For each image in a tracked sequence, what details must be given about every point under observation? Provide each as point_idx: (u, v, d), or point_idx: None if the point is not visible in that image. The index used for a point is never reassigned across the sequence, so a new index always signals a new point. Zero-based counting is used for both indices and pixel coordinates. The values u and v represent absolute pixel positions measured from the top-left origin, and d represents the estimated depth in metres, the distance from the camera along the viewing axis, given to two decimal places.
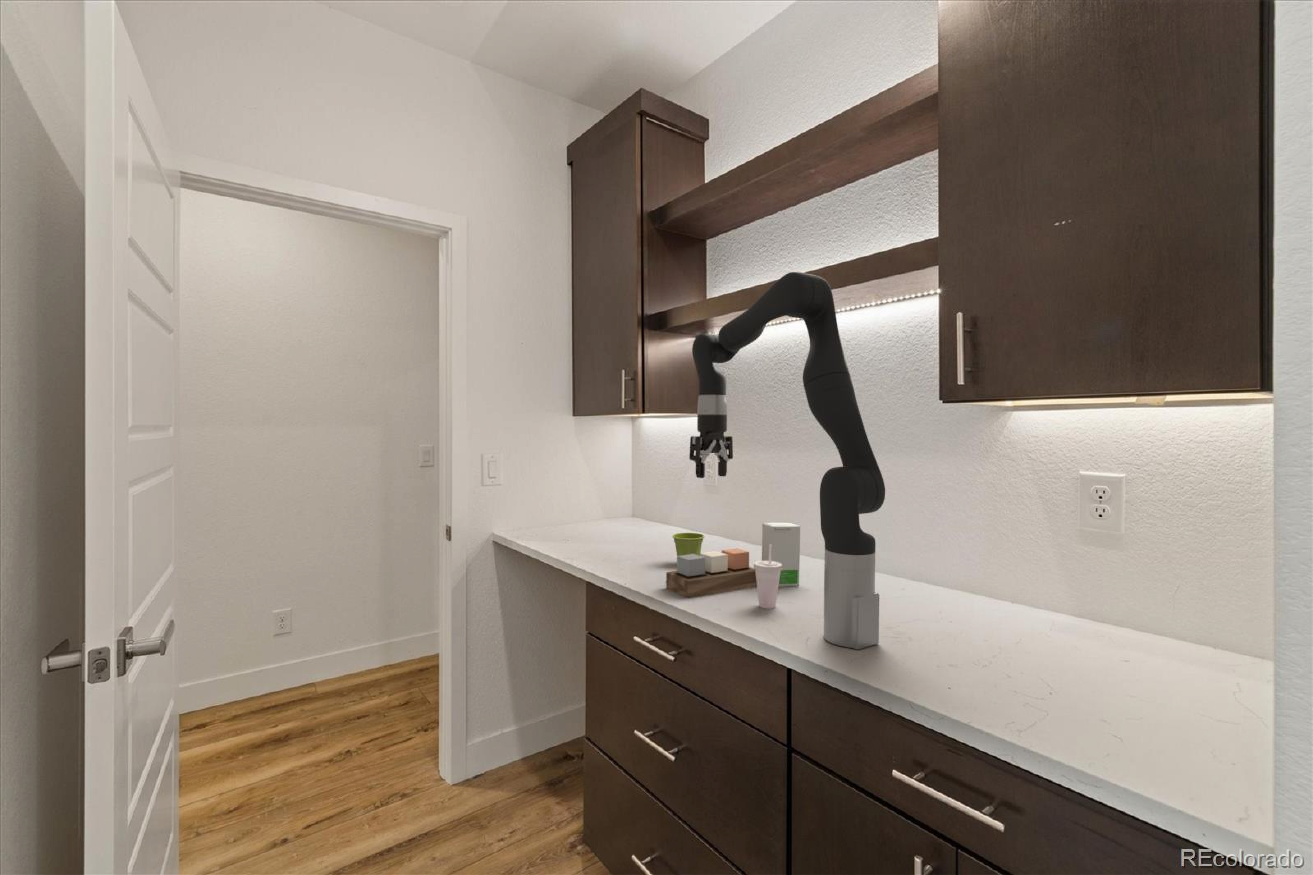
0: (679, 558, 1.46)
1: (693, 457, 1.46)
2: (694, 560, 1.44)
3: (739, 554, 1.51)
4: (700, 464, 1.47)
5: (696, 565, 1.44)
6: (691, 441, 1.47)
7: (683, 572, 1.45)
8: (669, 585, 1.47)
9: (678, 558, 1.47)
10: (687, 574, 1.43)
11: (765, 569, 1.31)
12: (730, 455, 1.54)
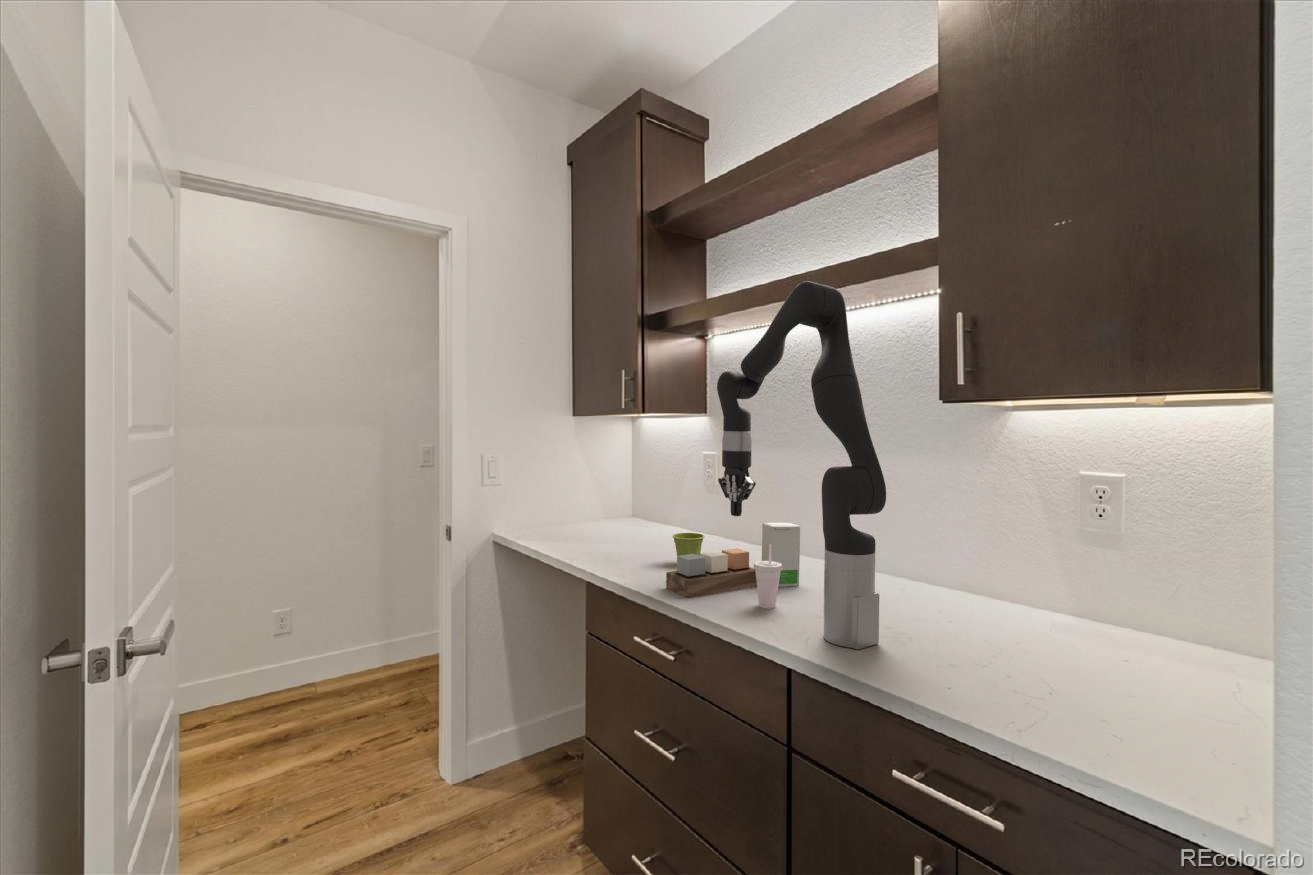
0: (679, 558, 1.46)
1: (744, 497, 1.51)
2: (694, 560, 1.44)
3: (739, 554, 1.51)
4: None
5: (696, 565, 1.44)
6: (747, 487, 1.48)
7: (683, 572, 1.45)
8: (669, 585, 1.47)
9: (678, 558, 1.47)
10: (687, 574, 1.43)
11: (765, 569, 1.31)
12: None
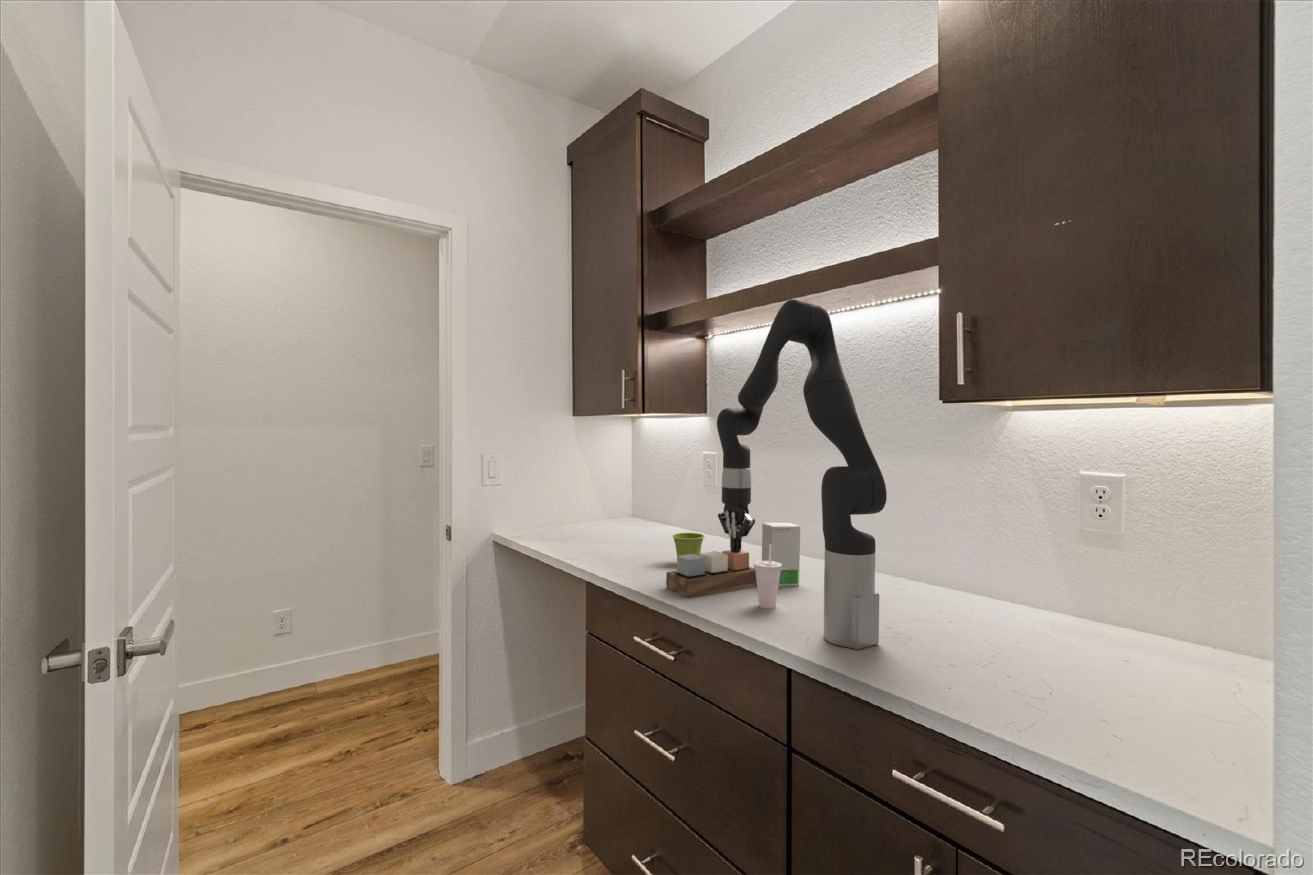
0: (679, 558, 1.46)
1: (744, 534, 1.51)
2: (694, 560, 1.44)
3: (739, 555, 1.51)
4: None
5: (696, 565, 1.44)
6: (747, 525, 1.48)
7: (683, 572, 1.45)
8: (669, 585, 1.47)
9: (678, 558, 1.47)
10: (687, 574, 1.43)
11: (765, 569, 1.31)
12: None
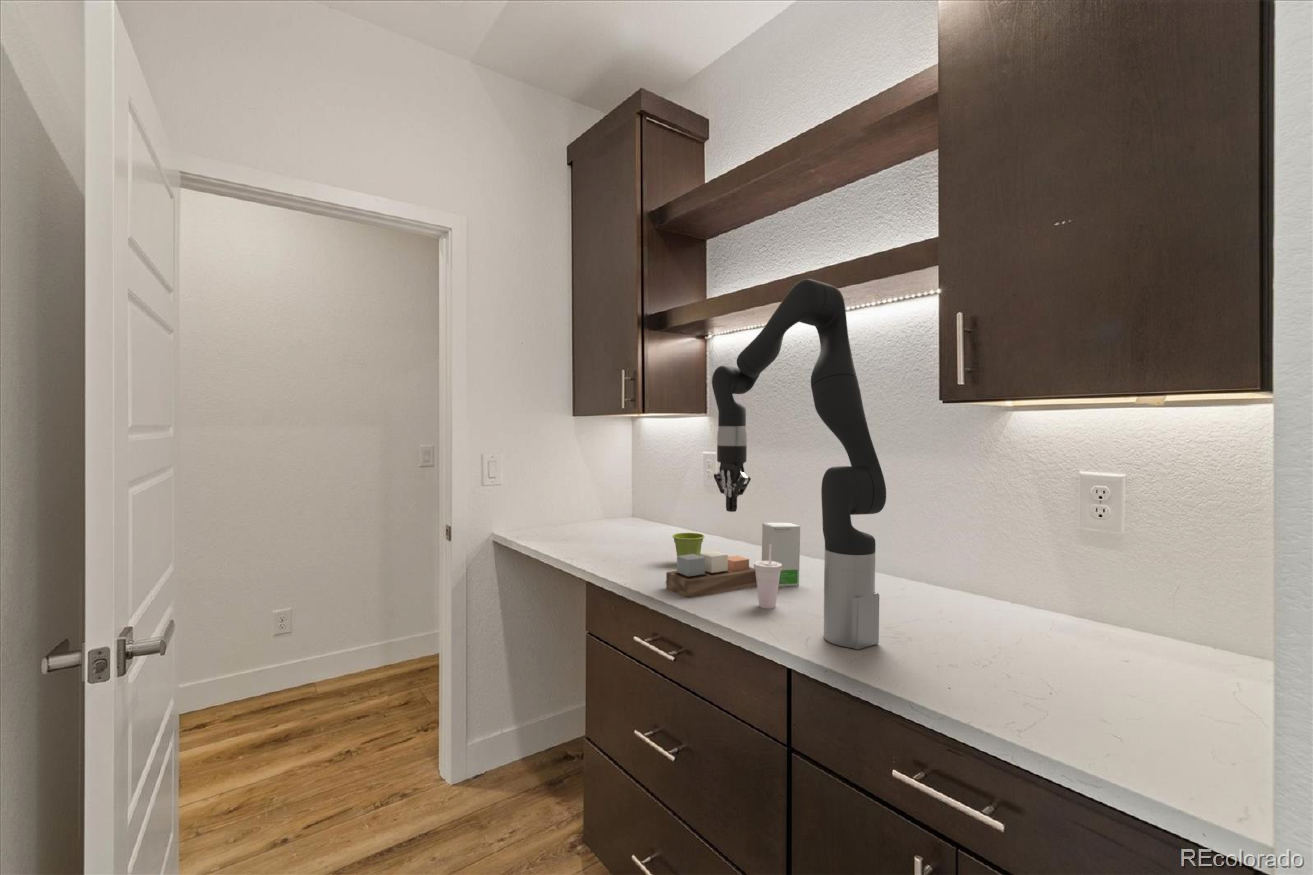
0: (679, 558, 1.46)
1: (739, 492, 1.50)
2: (694, 560, 1.44)
3: (739, 562, 1.51)
4: None
5: (696, 565, 1.44)
6: (742, 482, 1.47)
7: (683, 572, 1.45)
8: (669, 585, 1.47)
9: (678, 558, 1.47)
10: (687, 574, 1.43)
11: (765, 569, 1.31)
12: None
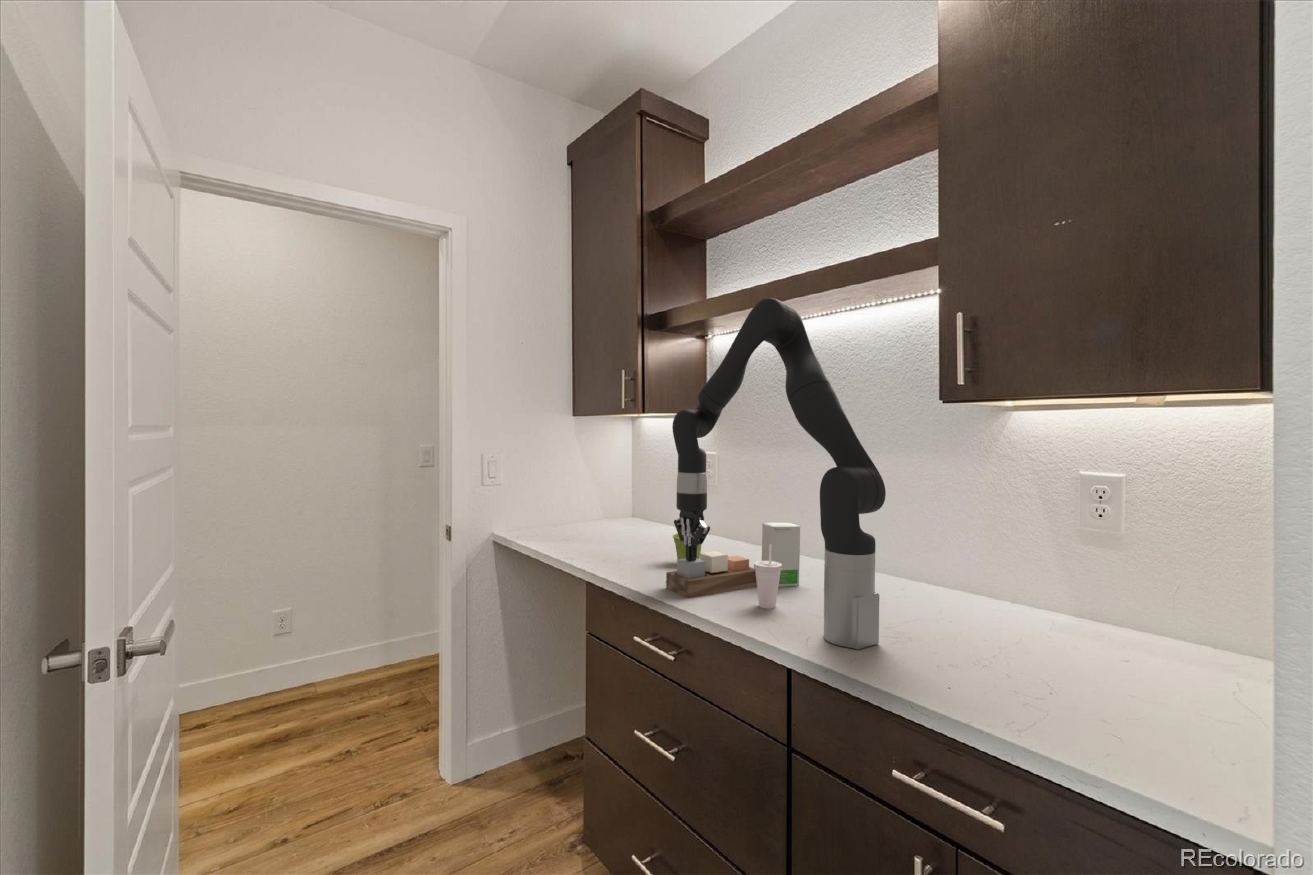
0: (679, 562, 1.46)
1: (699, 541, 1.44)
2: (694, 564, 1.44)
3: (739, 562, 1.51)
4: None
5: (695, 569, 1.44)
6: (701, 532, 1.41)
7: (683, 576, 1.45)
8: (669, 585, 1.47)
9: (678, 562, 1.47)
10: (687, 578, 1.43)
11: (765, 569, 1.31)
12: None
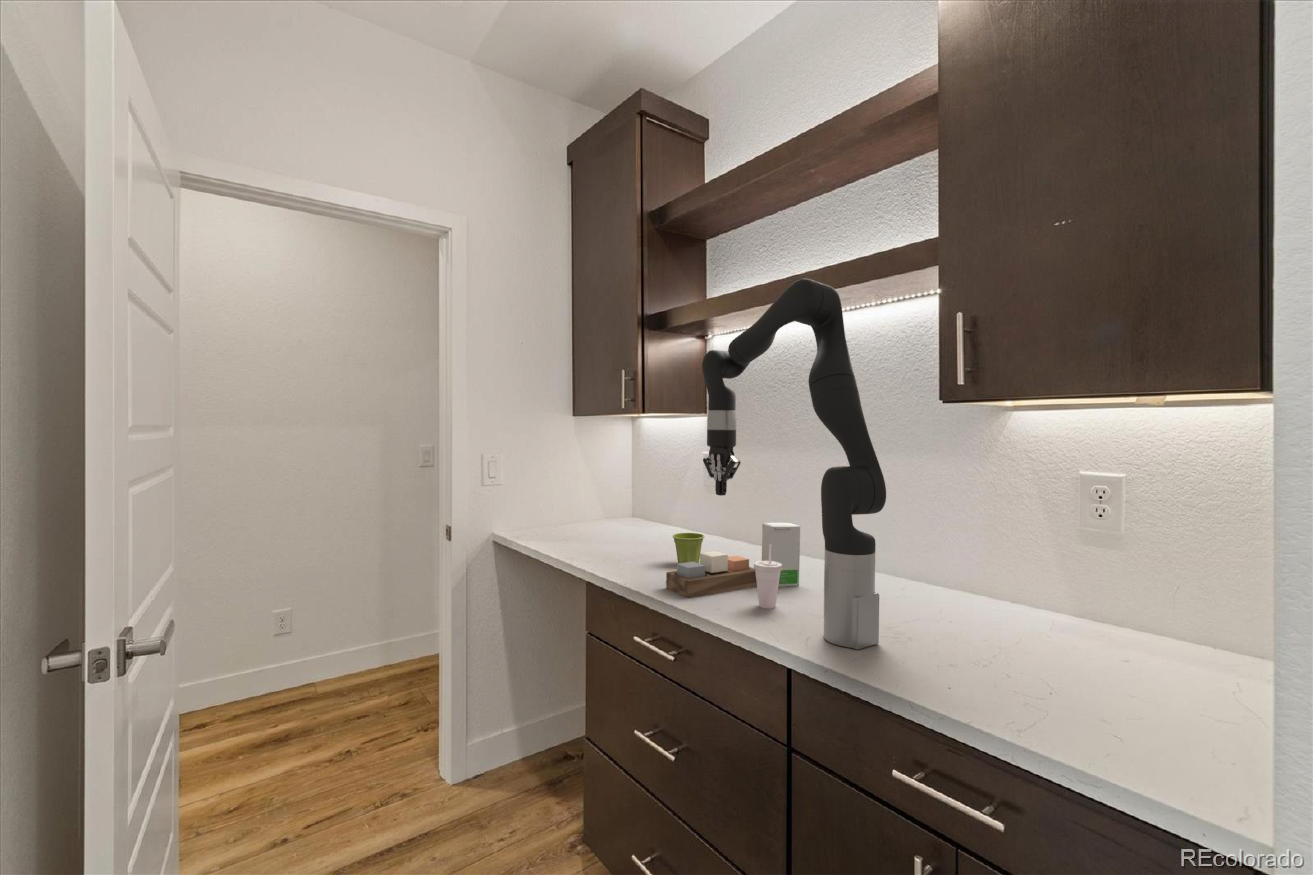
0: (679, 566, 1.46)
1: (729, 476, 1.51)
2: (694, 568, 1.44)
3: (739, 562, 1.51)
4: None
5: (695, 573, 1.44)
6: (732, 466, 1.48)
7: None
8: (669, 585, 1.47)
9: (678, 566, 1.47)
10: None
11: (765, 569, 1.31)
12: None
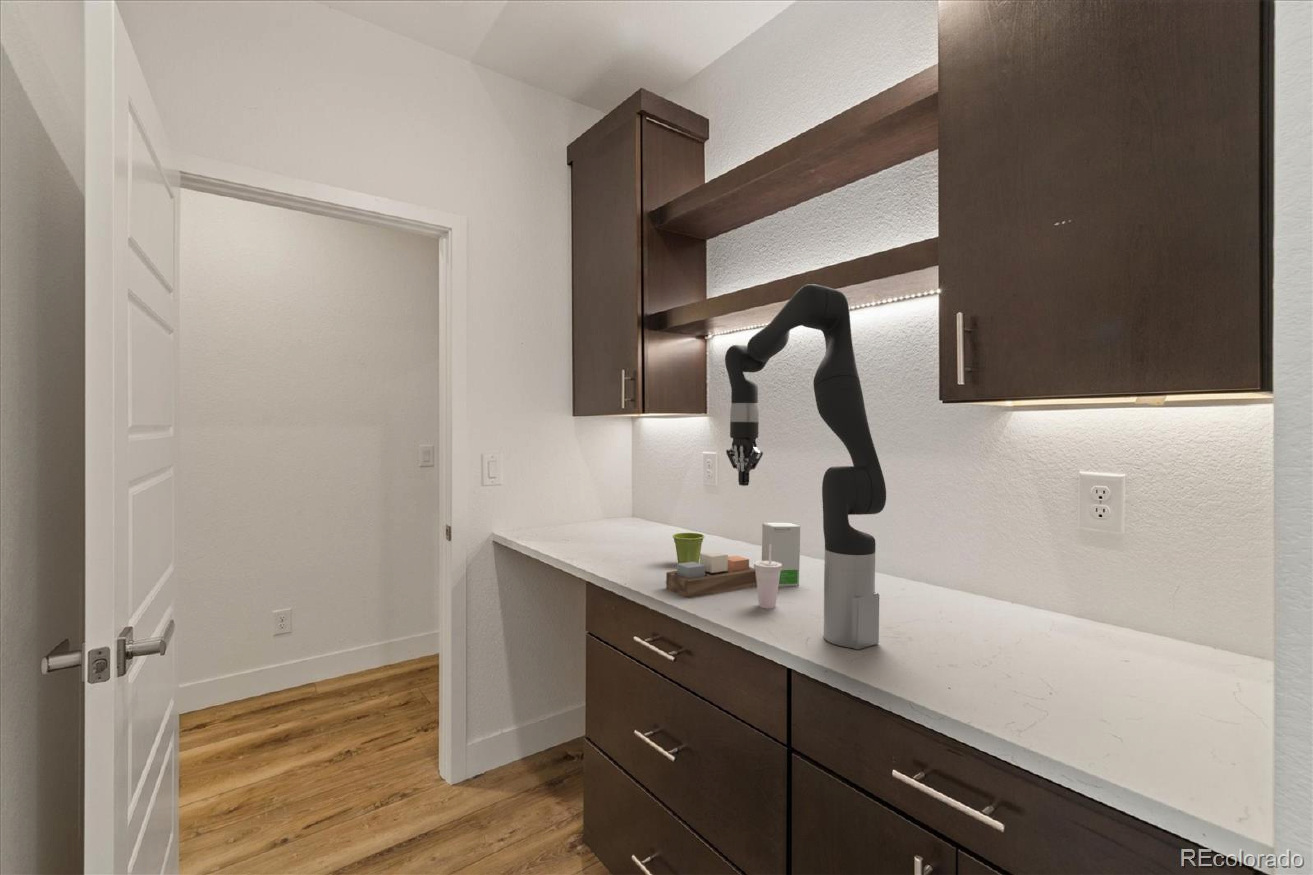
0: (679, 566, 1.46)
1: (751, 466, 1.56)
2: (694, 568, 1.44)
3: (739, 562, 1.51)
4: None
5: (695, 573, 1.44)
6: (755, 457, 1.53)
7: None
8: (669, 585, 1.47)
9: (678, 566, 1.47)
10: None
11: (765, 569, 1.31)
12: None
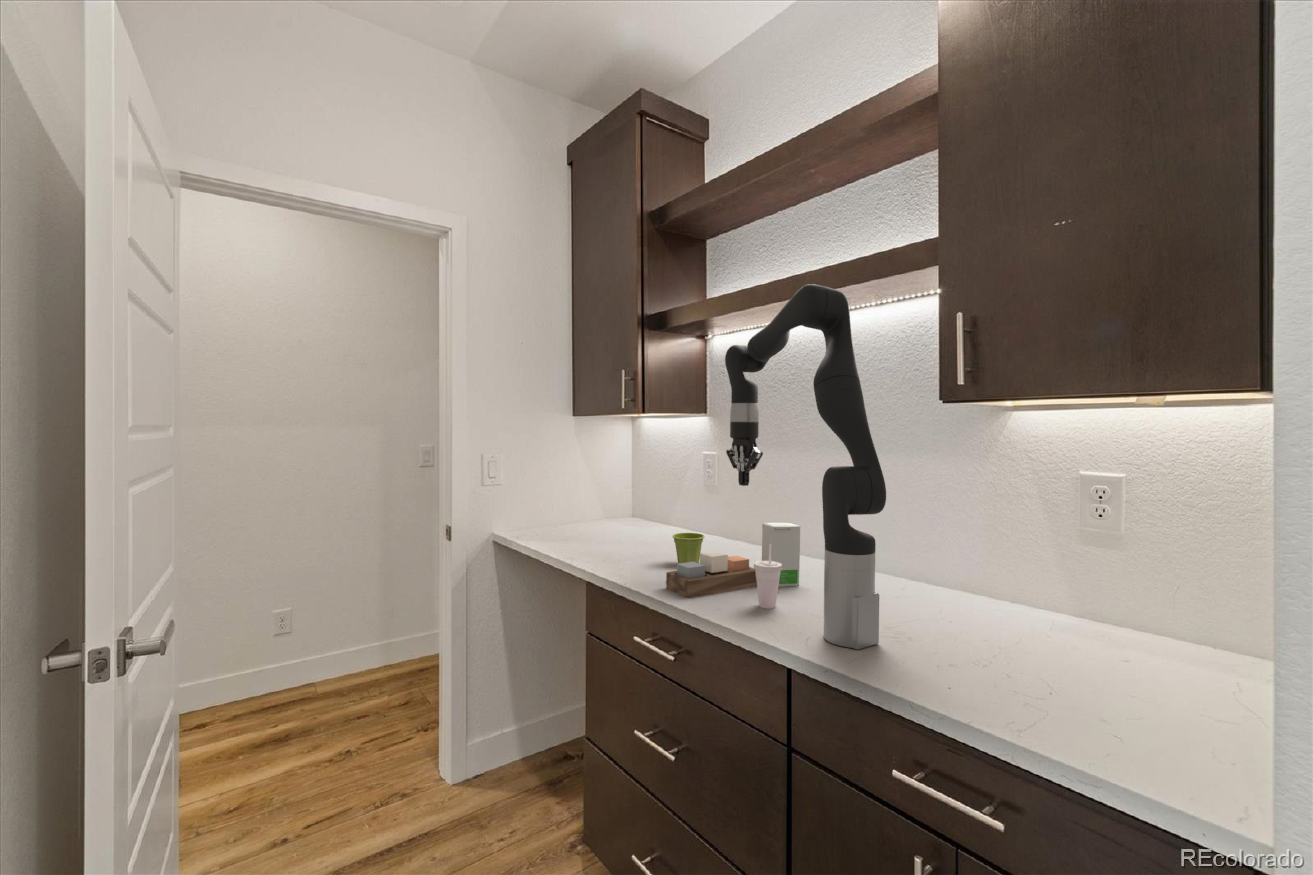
0: (679, 566, 1.46)
1: (752, 466, 1.56)
2: (694, 568, 1.44)
3: (739, 562, 1.51)
4: None
5: (695, 573, 1.44)
6: (755, 457, 1.53)
7: None
8: (669, 585, 1.47)
9: (678, 566, 1.47)
10: None
11: (765, 569, 1.31)
12: None
